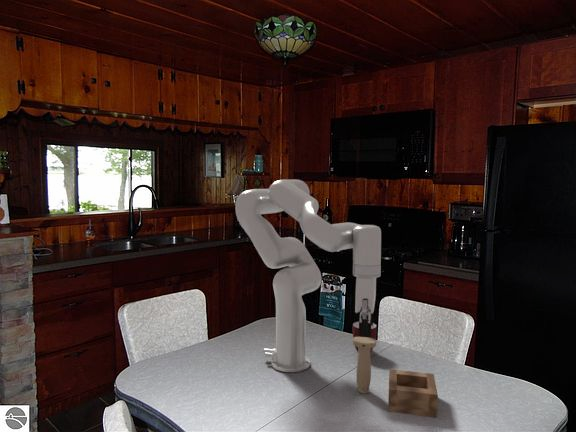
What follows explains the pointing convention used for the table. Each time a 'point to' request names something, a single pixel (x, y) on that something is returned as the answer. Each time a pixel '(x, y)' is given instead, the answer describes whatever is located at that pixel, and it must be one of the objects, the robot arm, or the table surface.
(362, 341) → the handle
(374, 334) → the mug
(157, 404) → the table surface
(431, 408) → the block
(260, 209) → the robot arm
